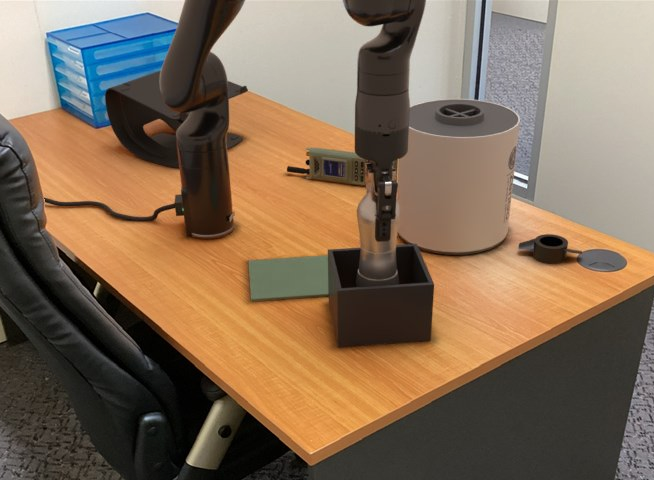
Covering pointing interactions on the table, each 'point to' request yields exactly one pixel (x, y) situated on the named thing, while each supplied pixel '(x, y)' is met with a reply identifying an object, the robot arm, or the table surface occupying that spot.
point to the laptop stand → (150, 119)
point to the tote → (380, 300)
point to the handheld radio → (335, 166)
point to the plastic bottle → (376, 247)
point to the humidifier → (457, 175)
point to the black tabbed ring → (548, 248)
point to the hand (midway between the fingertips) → (378, 229)
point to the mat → (288, 278)
